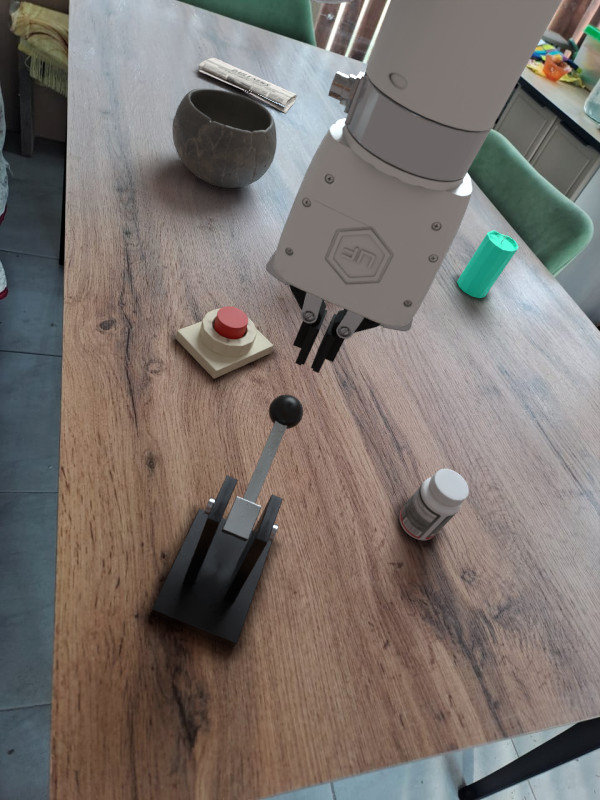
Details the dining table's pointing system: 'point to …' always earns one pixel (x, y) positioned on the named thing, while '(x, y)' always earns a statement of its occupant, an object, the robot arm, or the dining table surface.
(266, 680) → the dining table surface
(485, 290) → the candle
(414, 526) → the pill bottle
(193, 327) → the button box
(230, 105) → the bowl
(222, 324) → the button
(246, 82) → the newspaper
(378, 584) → the dining table surface
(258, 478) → the lever
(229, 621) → the bracket
